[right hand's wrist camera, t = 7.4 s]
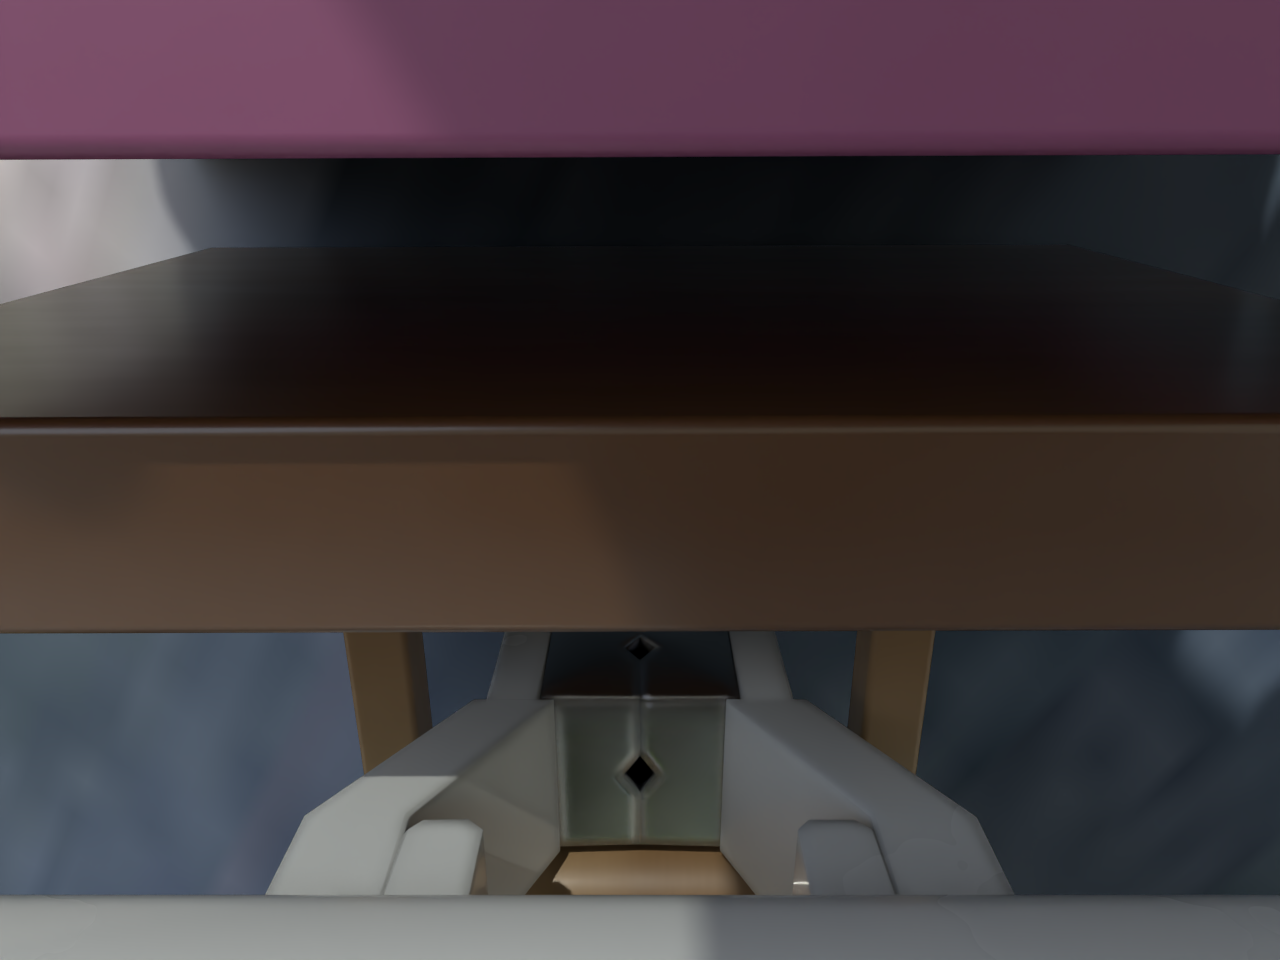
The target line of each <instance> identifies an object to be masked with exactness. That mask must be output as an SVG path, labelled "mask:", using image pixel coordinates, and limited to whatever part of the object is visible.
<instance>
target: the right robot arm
mask: <svg viewBox="0 0 1280 960" xmlns="http://www.w3.org/2000/svg"><path fill="white" fill-rule="evenodd" d="M630 844H648V845H684V846H720V851H721V852H722V853H723V855H724V856H725V857H726V858H727V860H728V861H729V862H730V863H731V865H732V866H733V867H734V868H735V870H736V871H737V872H738V873H739V875H740V876H741V877H742V878H743V880H744V881H745V882H746V883H747V885H748V886H749V887H750V888H751V890H752V891H753V892H754V893H755V895H525V894H526V893H527V892H528V890H529V889H530V888H531V887H532V885H533V884H534V883H535V882H536V880H537V879H538V878H539V877H540V875H541V874H542V873H543V872H544V870H545V869H546V868H547V867H548V865H549V864H550V863H551V862H552V860H553V859H554V858H555V857H556V855H557V854H558V853H559V852H560V846H594V845H630ZM0 960H1280V895H1015V894H1014V892H1013V890H1012V888H1011V886H1010V884H1009V882H1008V880H1007V878H1006V876H1005V874H1004V872H1003V870H1002V868H1001V866H1000V864H999V862H998V859H997V857H996V855H995V853H994V851H993V849H992V847H991V845H990V843H989V841H988V839H987V837H986V835H985V833H984V831H983V829H982V827H981V825H980V823H979V821H978V819H977V817H976V816H974V815H973V814H971V813H970V812H968V811H967V810H966V809H964V808H963V807H961V806H960V805H958V804H957V803H955V802H954V801H953V800H951V799H950V798H948V797H947V796H945V795H944V794H942V793H941V792H939V791H938V790H937V789H935V788H934V787H932V786H931V785H929V784H928V783H926V782H925V781H924V780H922V779H921V778H919V777H918V776H916V775H915V774H913V773H912V772H910V771H909V770H908V769H906V768H905V767H903V766H902V765H900V764H899V763H897V762H896V761H895V760H893V759H892V758H890V757H889V756H887V755H886V754H884V753H883V752H881V751H880V750H879V749H877V748H876V747H874V746H873V745H871V744H870V743H868V742H867V741H866V740H864V739H863V738H861V737H860V736H858V735H857V734H855V733H854V732H853V731H851V730H850V729H848V728H847V727H845V726H844V725H842V724H841V723H839V722H838V721H837V720H835V719H834V718H832V717H831V716H829V715H828V714H826V713H825V712H824V711H822V710H821V709H819V708H818V707H816V706H815V705H813V704H812V703H810V702H809V701H808V700H803V699H793V695H792V692H791V688H790V684H789V681H788V677H787V674H786V670H785V667H784V663H783V659H782V656H781V652H780V649H779V645H778V641H777V638H776V634H775V631H640V632H505V633H504V637H503V641H502V644H501V648H500V651H499V655H498V659H497V662H496V666H495V670H494V673H493V677H492V681H491V684H490V688H489V691H488V695H487V699H477V700H472V701H471V702H470V703H468V704H467V705H465V706H464V707H462V708H461V709H459V710H458V711H456V712H455V713H454V714H452V715H451V716H449V717H448V718H446V719H445V720H443V721H442V722H440V723H439V724H438V725H436V726H435V727H433V728H432V729H430V730H429V731H427V732H426V733H424V734H423V735H422V736H420V737H419V738H417V739H416V740H414V741H413V742H411V743H410V744H408V745H407V746H405V747H404V748H403V749H401V750H400V751H398V752H397V753H395V754H394V755H392V756H391V757H389V758H388V759H387V760H385V761H384V762H382V763H381V764H379V765H378V766H376V767H375V768H373V769H372V770H371V771H369V772H368V773H366V774H365V775H363V776H362V777H360V778H359V779H357V780H356V781H355V782H353V783H352V784H350V785H349V786H347V787H346V788H344V789H343V790H341V791H340V792H338V793H337V794H336V795H334V796H333V797H331V798H330V799H328V800H327V801H325V802H324V803H322V804H321V805H320V806H318V807H317V808H315V809H314V810H312V811H311V812H309V813H308V814H306V815H305V816H304V818H303V820H302V822H301V824H300V826H299V828H298V830H297V832H296V834H295V836H294V838H293V840H292V842H291V844H290V846H289V848H288V850H287V852H286V854H285V856H284V858H283V860H282V862H281V864H280V866H279V868H278V870H277V872H276V874H275V876H274V878H273V880H272V882H271V884H270V886H269V888H268V890H267V892H266V894H265V895H0Z"/></svg>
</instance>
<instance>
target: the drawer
mask: <svg viewBox="0 0 1280 960" xmlns="http://www.w3.org/2000/svg"><path fill="white" fill-rule="evenodd" d="M986 630H1280V300H1278V299H1274V298H1270V297H1266V296H1263V295H1259V294H1255V293H1251V292H1247V291H1244V290H1240V289H1236V288H1232V287H1228V286H1224V285H1221V284H1217V283H1213V282H1209V281H1205V280H1202V279H1198V278H1194V277H1190V276H1186V275H1182V274H1179V273H1175V272H1171V271H1167V270H1163V269H1160V268H1156V267H1152V266H1148V265H1144V264H1140V263H1137V262H1133V261H1129V260H1125V259H1121V258H1118V257H1114V256H1110V255H1106V254H1102V253H1098V252H1095V251H1091V250H1087V249H1083V248H1079V247H1076V246H1072V245H1068V244H1055V245H804V246H553V247H303V248H209V249H205V250H201V251H197V252H194V253H190V254H186V255H182V256H179V257H175V258H171V259H167V260H164V261H160V262H156V263H153V264H149V265H145V266H141V267H138V268H134V269H130V270H126V271H123V272H119V273H115V274H111V275H108V276H104V277H100V278H96V279H93V280H89V281H85V282H82V283H78V284H74V285H70V286H67V287H63V288H59V289H55V290H52V291H48V292H44V293H40V294H37V295H33V296H29V297H26V298H22V299H18V300H14V301H11V302H7V303H3V304H0V633H296V632H343V633H344V640H345V647H346V654H347V661H348V667H349V674H350V681H351V688H352V695H353V701H354V708H355V715H356V722H357V729H358V736H359V742H360V749H361V756H362V763H363V770H364V775H365V774H366V773H368V772H369V771H371V770H372V769H373V768H375V767H376V766H378V765H379V764H381V763H382V762H384V761H385V760H387V759H388V758H389V757H391V756H392V755H394V754H395V753H397V752H398V751H400V750H401V749H403V748H404V747H405V746H407V745H408V744H410V743H411V742H413V741H414V740H416V739H417V738H419V737H420V736H422V735H423V734H424V733H426V732H427V731H429V730H430V729H432V728H433V727H432V718H431V709H430V700H429V691H428V682H427V672H426V663H425V654H424V645H423V636H422V632H640V631H857V638H856V648H855V658H854V668H853V678H852V689H851V699H850V709H849V719H848V729H850V730H851V731H853V732H854V733H855V734H857V735H858V736H860V737H861V738H863V739H864V740H866V741H867V742H868V743H870V744H871V745H873V746H874V747H876V748H877V749H879V750H880V751H881V752H883V753H884V754H886V755H887V756H889V757H890V758H892V759H893V760H895V761H896V762H897V763H899V764H900V765H902V766H903V767H905V768H906V769H908V770H909V771H910V772H912V773H913V774H915V775H916V769H917V762H918V755H919V748H920V740H921V733H922V726H923V718H924V711H925V704H926V696H927V689H928V682H929V675H930V667H931V660H932V653H933V645H934V638H935V631H986ZM525 895H755V893H754V892H753V891H752V890H751V888H750V887H749V886H748V885H747V883H746V882H745V881H744V880H743V878H742V877H741V876H740V875H739V873H738V872H737V871H736V870H735V868H734V867H733V866H732V865H731V863H730V862H729V861H728V860H727V858H726V857H725V856H724V855H723V853H722V852H721V851H720V846H684V845H648V844H630V845H594V846H560V852H559V853H558V854H557V855H556V857H555V858H554V859H553V860H552V862H551V863H550V864H549V865H548V867H547V868H546V869H545V870H544V872H543V873H542V874H541V875H540V877H539V878H538V879H537V880H536V882H535V883H534V884H533V885H532V887H531V888H530V889H529V890H528V892H527V893H526V894H525Z"/></svg>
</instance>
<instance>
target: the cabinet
mask: <svg viewBox="0 0 1280 960" xmlns="http://www.w3.org/2000/svg"><path fill="white" fill-rule="evenodd" d="M1202 154H1280V0H0V160H22V159H258V158H494V157H730V156H966V155H1202Z"/></svg>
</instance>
